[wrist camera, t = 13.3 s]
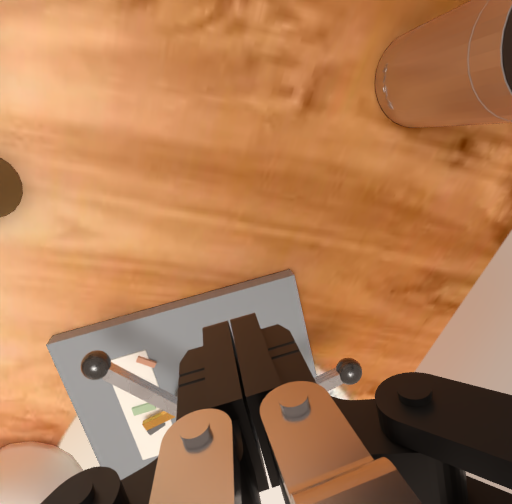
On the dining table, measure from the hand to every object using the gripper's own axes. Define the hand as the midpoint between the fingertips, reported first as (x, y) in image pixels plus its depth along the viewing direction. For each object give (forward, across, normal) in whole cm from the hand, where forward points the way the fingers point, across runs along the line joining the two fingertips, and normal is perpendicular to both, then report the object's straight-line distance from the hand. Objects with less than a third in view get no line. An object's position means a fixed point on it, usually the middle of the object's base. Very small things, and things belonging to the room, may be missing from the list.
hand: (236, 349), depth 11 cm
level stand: (+31, +6, +20) cm, 37 cm away
